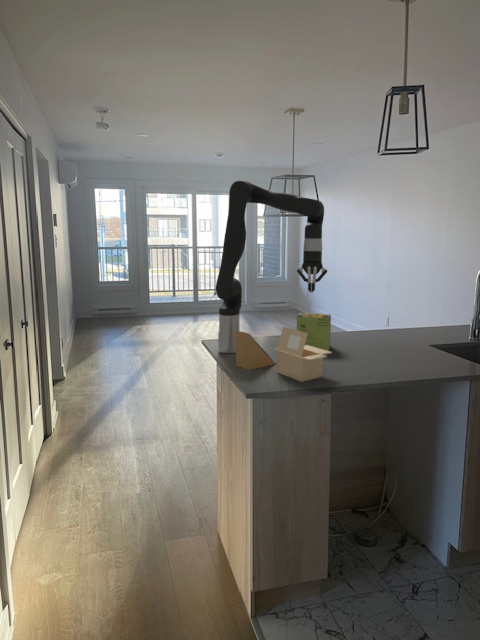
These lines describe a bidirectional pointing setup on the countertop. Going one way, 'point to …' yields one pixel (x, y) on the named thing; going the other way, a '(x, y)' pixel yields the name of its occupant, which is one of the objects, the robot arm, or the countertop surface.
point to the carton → (302, 363)
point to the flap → (292, 341)
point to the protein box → (315, 329)
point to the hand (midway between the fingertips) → (311, 291)
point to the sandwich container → (250, 352)
